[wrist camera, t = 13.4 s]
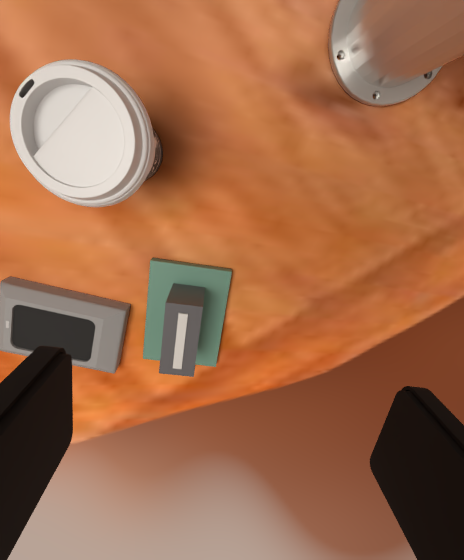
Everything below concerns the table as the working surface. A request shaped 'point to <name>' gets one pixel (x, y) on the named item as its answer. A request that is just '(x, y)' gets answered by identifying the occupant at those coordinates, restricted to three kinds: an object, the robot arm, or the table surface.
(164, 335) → the block
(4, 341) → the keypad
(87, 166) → the coffee cup
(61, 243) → the table surface
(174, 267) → the board
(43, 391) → the robot arm
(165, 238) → the table surface
